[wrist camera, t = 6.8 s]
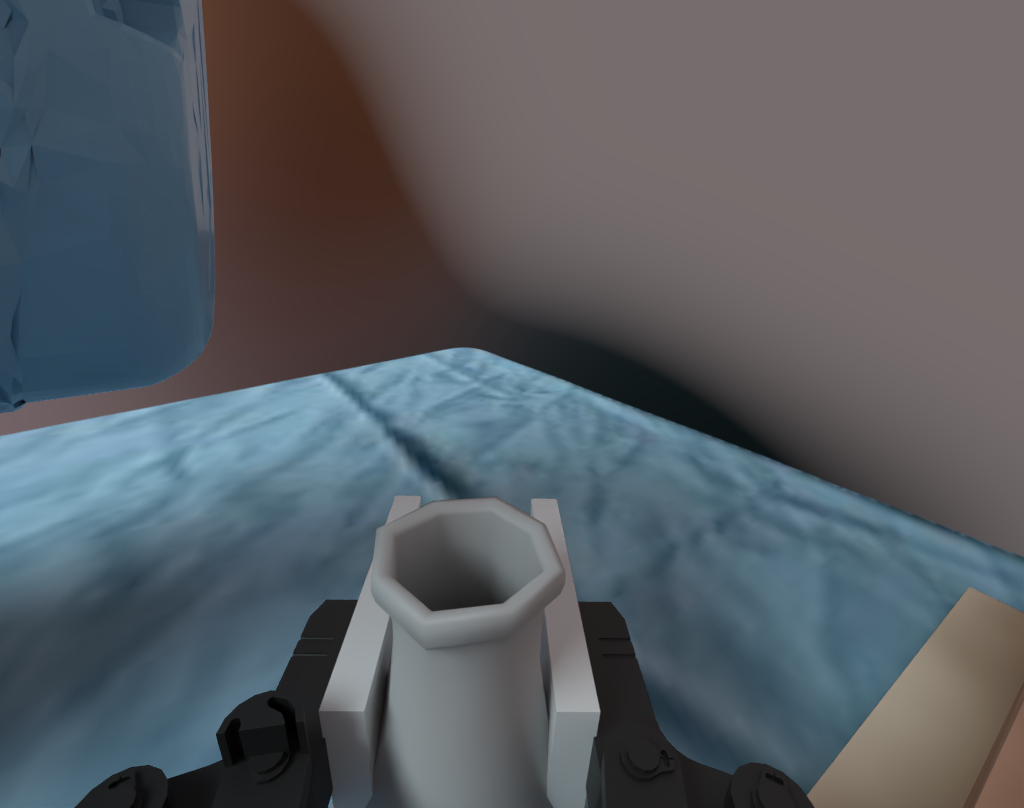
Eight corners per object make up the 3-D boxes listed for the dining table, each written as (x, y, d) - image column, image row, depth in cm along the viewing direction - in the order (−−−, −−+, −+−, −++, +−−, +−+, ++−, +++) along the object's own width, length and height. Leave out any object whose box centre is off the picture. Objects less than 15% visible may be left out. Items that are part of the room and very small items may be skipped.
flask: (678, 964, 11) (802, 623, 7) (338, 1299, 7) (211, 990, 3) (516, 692, 16) (535, 427, 13) (285, 806, 13) (217, 491, 9)
